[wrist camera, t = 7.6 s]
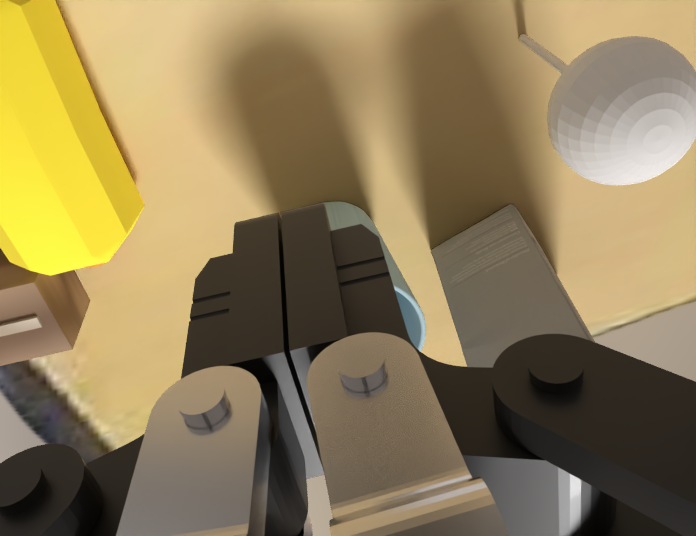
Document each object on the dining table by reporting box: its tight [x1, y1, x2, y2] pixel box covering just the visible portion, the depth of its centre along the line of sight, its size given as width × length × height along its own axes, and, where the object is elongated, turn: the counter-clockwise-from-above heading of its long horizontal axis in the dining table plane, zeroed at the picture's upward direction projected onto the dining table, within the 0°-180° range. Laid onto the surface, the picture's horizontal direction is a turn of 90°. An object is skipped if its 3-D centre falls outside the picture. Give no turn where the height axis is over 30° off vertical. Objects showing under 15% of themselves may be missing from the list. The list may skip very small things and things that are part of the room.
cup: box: [324, 201, 426, 352], centre depth 38 cm, size 8×8×10 cm
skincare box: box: [431, 204, 595, 368], centre depth 39 cm, size 8×7×16 cm
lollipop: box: [519, 34, 696, 185], centre depth 30 cm, size 6×6×15 cm
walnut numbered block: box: [0, 250, 90, 366], centre depth 40 cm, size 5×5×5 cm
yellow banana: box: [0, 0, 145, 276], centre depth 33 cm, size 18×7×8 cm
